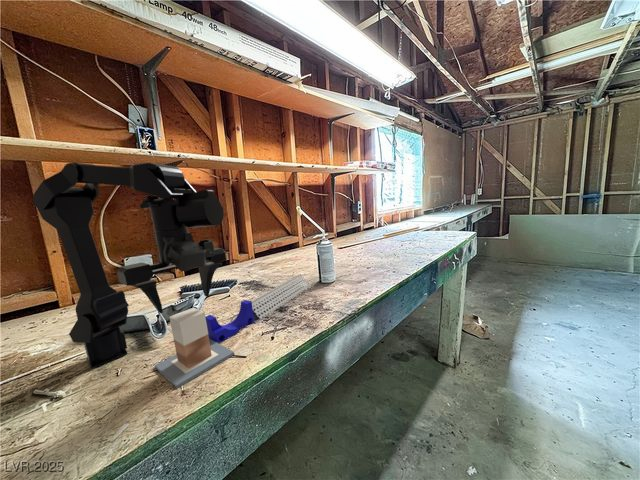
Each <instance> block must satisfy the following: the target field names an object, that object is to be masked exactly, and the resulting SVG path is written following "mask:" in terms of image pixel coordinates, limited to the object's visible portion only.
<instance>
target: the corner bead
mask: <svg viewBox="0 0 640 480" xmlns="http://www.w3.org/2000/svg"><path fill="white" fill-rule="evenodd" d="M309 287H311V284H310V283H309V282H308V281H307V280H306V278H304V277H303V276H302V274H301V273H299V274H298V275H296V276H294V277H292V278H290V279H289V280H287V281H286V282H284V283H282V284H280V285H278V286H277V287H275V288H273V289H271V290H269V291H267V292H265V293H264V294H263V295H260V296H259V297H257V298H255V299H253V300H252V301H250V302H252V308H253V314H255V315H256V316H257V317H258V318H259V320H262V319H263V318H265V317H266V316H268V315H269V314H271V312H274V311H275V310H277V309H278V308H280V307H281V306H282V305H284V304H285V303H287V302H289V301H290V300H292V299H293V298H295V296H297V295H299V294H300V293H302V292H303V291H305V290H306V289H308V288H309Z"/></svg>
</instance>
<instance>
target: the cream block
mask: <svg viewBox="0 0 640 480" xmlns="http://www.w3.org/2000/svg"><path fill="white" fill-rule="evenodd" d="M205 313H206V312H205V311H203V310H201V309H199V308H195V307H192V308H188V309H186V310H182V311H181V312H179V313H176V314H173V315H170V316H169V322H170V327H171V333H172V337H173V341H174V340H176V341H177V342H179V343H181V344H182V345H184V346H185V345H187V344H189V343H191V342H193V341H195V340H197V339H199V338H201V337H203V336H205V335H207V334H208V329H207V323H206V318H205V317H206V314H205Z"/></svg>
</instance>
